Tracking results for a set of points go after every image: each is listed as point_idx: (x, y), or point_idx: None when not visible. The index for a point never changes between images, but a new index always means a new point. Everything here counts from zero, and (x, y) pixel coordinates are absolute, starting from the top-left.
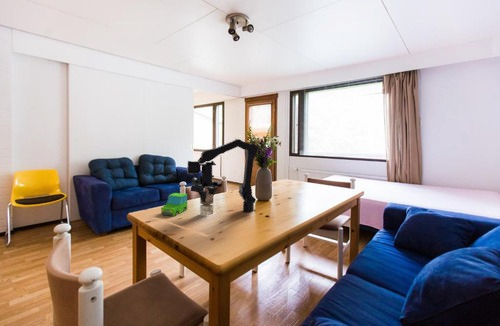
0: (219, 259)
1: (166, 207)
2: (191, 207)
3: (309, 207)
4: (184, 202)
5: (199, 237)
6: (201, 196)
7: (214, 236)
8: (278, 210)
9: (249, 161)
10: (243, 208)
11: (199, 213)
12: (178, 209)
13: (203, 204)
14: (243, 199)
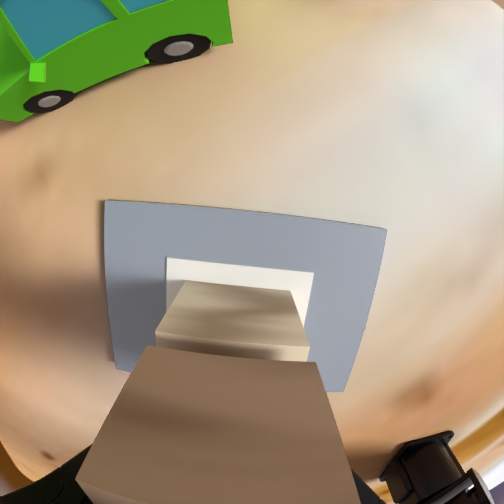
0: (27, 473)
1: (2, 26)
2: (351, 25)
3: None
4: (142, 5)
5: (18, 421)
6: (64, 489)
7: (60, 459)
8: None
9: None
10: (398, 476)
11: (194, 261)
12: (44, 85)
13: (213, 351)
14: (462, 477)
